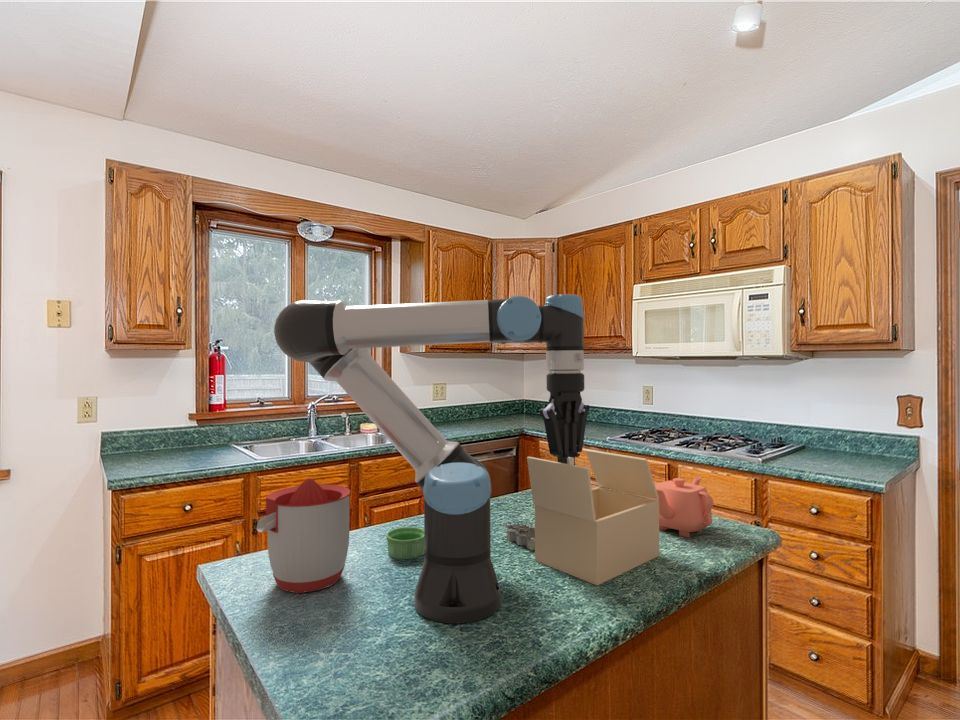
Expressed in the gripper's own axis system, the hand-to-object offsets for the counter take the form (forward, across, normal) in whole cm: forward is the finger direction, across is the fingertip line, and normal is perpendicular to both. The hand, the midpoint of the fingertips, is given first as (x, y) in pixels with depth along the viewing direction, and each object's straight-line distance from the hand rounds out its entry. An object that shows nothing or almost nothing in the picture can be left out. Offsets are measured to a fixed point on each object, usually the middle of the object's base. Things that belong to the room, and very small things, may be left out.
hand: (566, 489), depth 103 cm
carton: (+17, +10, 0) cm, 19 cm away
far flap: (0, +19, 0) cm, 19 cm away
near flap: (-1, -2, 0) cm, 2 cm away
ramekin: (+17, -19, +30) cm, 39 cm away
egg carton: (+17, +6, +17) cm, 25 cm away
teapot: (+17, +41, -2) cm, 45 cm away
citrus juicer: (+16, -42, +30) cm, 54 cm away
